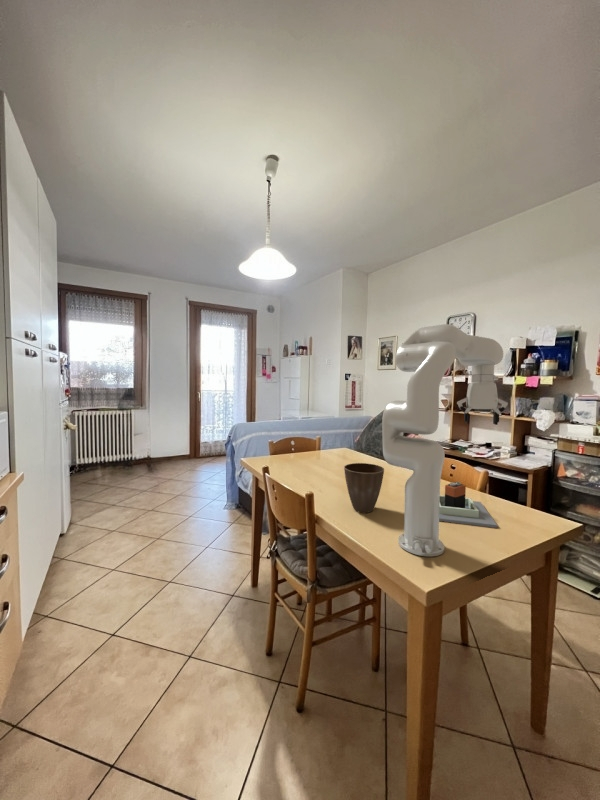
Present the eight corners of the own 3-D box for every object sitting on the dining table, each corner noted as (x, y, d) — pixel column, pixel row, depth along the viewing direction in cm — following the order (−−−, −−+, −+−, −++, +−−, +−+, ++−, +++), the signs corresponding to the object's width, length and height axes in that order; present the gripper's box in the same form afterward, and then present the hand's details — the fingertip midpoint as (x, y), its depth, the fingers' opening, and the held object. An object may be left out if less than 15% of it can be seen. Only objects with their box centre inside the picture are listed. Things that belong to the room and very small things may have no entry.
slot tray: (497, 528, 104) (497, 517, 104) (425, 519, 111) (426, 509, 111) (480, 504, 125) (480, 495, 125) (421, 498, 132) (421, 490, 132)
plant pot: (347, 499, 130) (348, 461, 129) (385, 504, 125) (385, 464, 124) (340, 513, 116) (340, 470, 115) (381, 519, 111) (382, 474, 110)
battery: (443, 508, 118) (444, 482, 118) (454, 505, 122) (455, 479, 121) (454, 512, 114) (455, 485, 114) (465, 509, 118) (466, 482, 117)
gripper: (505, 379, 122) (503, 423, 123) (456, 379, 128) (455, 421, 128) (511, 379, 115) (510, 425, 116) (459, 379, 120) (458, 424, 121)
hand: (481, 423), depth 122 cm, fingers open, 9 cm apart
